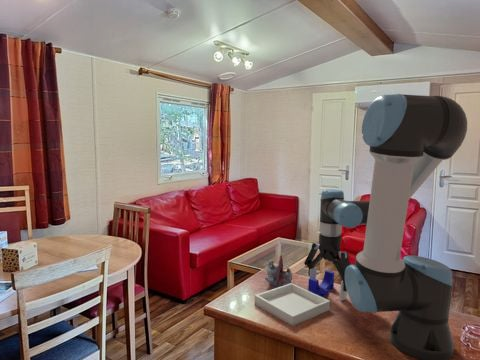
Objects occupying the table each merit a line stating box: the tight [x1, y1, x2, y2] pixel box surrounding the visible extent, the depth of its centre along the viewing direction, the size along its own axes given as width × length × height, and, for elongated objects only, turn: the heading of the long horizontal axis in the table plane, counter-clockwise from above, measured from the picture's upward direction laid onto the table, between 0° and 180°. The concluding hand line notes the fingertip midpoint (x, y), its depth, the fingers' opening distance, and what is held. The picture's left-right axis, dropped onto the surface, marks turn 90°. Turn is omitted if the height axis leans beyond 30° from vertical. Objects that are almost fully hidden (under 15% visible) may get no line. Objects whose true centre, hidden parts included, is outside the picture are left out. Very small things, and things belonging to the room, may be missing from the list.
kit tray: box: [254, 282, 331, 327], centre depth 114 cm, size 17×17×3 cm
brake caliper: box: [264, 254, 293, 288], centre depth 133 cm, size 11×11×12 cm
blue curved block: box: [307, 269, 335, 298], centre depth 126 cm, size 12×4×6 cm, turn 135°
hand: (327, 292), depth 125 cm, fingers open, 13 cm apart
